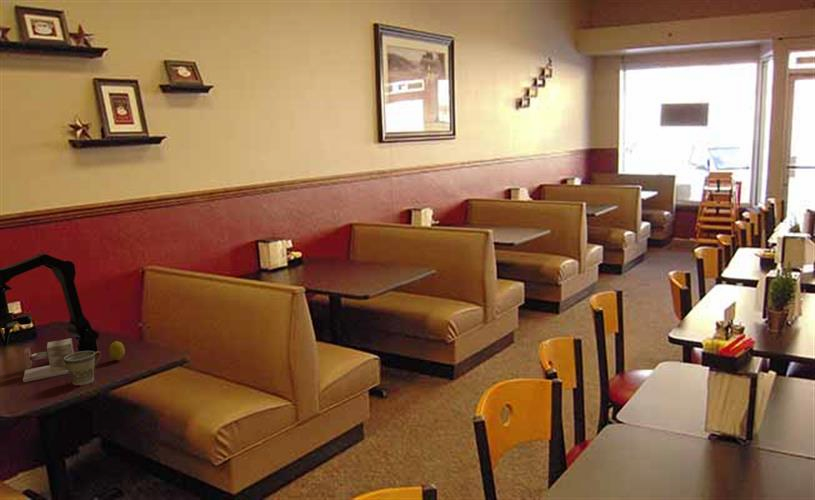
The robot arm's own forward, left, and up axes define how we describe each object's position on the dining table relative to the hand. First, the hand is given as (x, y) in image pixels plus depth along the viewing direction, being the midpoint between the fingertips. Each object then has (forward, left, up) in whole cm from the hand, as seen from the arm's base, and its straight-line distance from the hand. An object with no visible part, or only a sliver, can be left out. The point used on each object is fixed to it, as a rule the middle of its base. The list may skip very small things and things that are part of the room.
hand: (5, 345), depth 237 cm
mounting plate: (-13, 0, -13) cm, 18 cm away
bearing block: (-17, 0, -13) cm, 21 cm away
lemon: (-36, +2, -13) cm, 38 cm away
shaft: (-10, 0, -9) cm, 14 cm away
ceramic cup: (-25, +19, -13) cm, 34 cm away
